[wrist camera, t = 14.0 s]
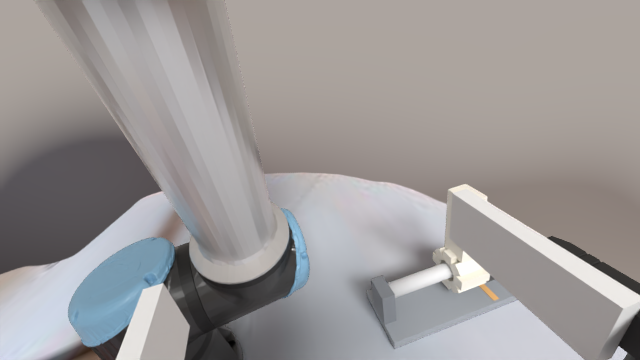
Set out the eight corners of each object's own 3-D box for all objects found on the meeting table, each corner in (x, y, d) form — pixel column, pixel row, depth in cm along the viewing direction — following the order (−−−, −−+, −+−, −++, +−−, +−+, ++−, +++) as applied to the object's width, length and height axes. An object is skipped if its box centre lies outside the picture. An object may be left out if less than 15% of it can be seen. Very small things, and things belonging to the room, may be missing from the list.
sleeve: (459, 302, 43) (469, 210, 35) (432, 270, 49) (435, 186, 41) (487, 291, 44) (503, 200, 36) (456, 262, 50) (464, 177, 42)
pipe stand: (394, 348, 41) (392, 316, 38) (366, 296, 50) (363, 266, 46) (538, 291, 45) (548, 257, 42) (489, 252, 54) (495, 221, 50)
